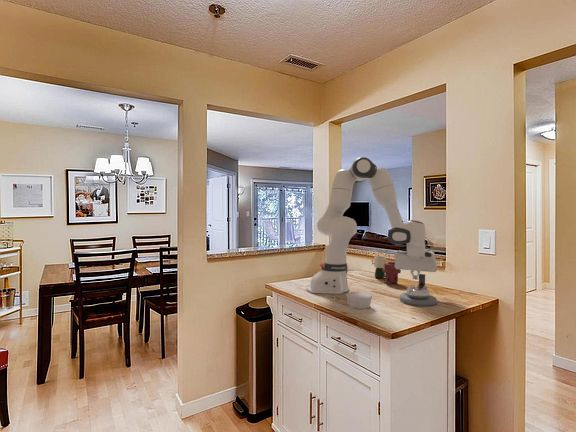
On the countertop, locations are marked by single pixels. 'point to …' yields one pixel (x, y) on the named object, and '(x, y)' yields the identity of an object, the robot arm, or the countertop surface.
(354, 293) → the ramekin
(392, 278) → the mechanical component
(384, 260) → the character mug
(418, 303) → the base
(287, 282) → the countertop surface
